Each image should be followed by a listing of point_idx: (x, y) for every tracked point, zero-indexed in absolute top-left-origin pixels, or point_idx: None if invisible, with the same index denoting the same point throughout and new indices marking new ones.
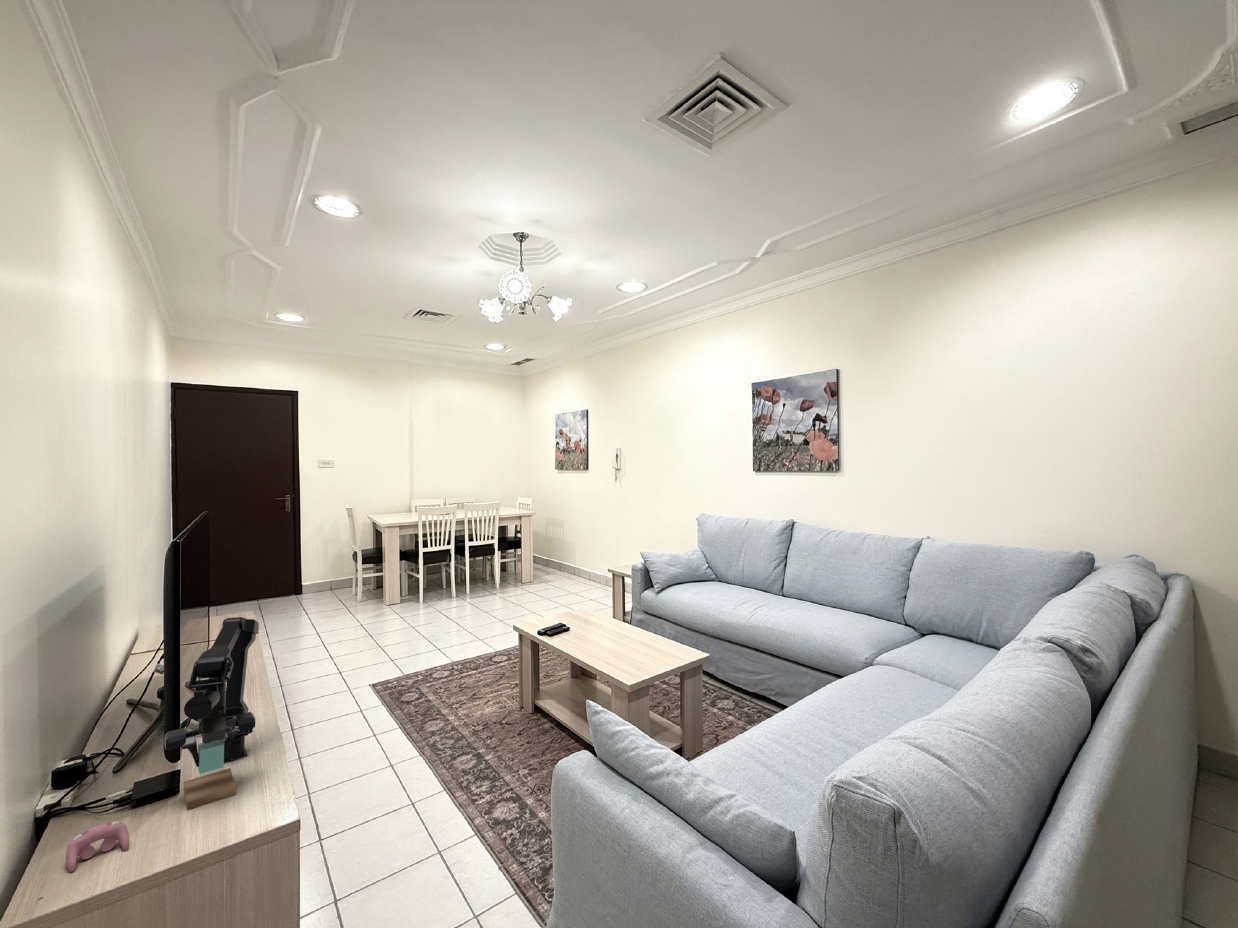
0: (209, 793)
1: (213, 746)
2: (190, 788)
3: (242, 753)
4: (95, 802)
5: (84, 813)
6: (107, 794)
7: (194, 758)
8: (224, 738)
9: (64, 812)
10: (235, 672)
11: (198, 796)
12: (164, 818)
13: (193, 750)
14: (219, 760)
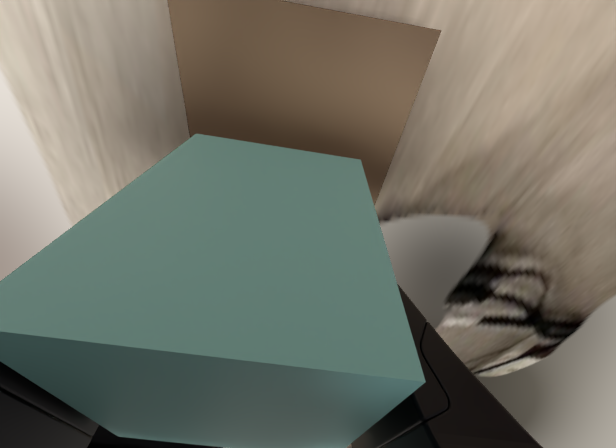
0: (316, 39)
1: (176, 361)
2: None
3: None
4: (504, 318)
5: (557, 294)
6: (467, 329)
7: (403, 296)
8: (67, 417)
9: (562, 322)
10: None
11: (370, 57)
12: (524, 36)
13: (473, 421)
14: (198, 168)
